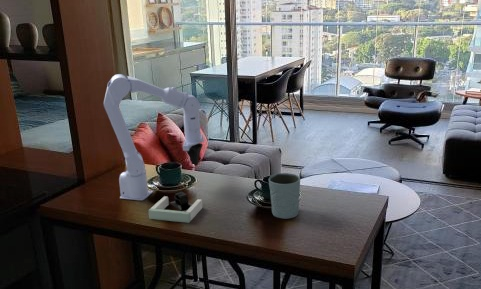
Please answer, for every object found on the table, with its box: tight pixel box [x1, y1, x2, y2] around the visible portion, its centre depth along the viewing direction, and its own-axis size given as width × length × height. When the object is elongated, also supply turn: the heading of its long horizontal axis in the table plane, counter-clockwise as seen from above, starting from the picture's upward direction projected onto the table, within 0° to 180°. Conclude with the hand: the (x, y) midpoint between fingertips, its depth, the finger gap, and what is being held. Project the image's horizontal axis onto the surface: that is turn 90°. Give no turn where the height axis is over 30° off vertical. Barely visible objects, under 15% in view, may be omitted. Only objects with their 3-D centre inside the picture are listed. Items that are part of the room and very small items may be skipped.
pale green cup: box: [268, 172, 301, 220], centre depth 150 cm, size 10×10×12 cm
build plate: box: [169, 191, 193, 212], centre depth 161 cm, size 12×7×5 cm, turn 36°
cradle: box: [148, 195, 203, 224], centre depth 154 cm, size 14×12×3 cm
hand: (194, 163), depth 174 cm, fingers closed
